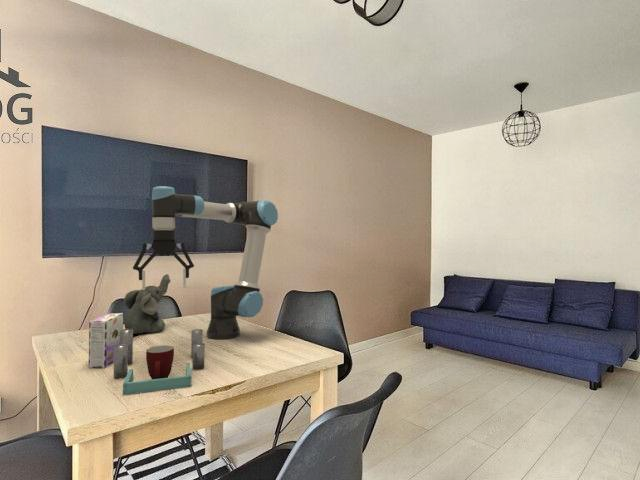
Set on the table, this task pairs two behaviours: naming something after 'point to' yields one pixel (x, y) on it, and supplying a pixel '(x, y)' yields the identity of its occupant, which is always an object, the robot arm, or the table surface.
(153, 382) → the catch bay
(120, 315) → the candy box
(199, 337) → the cylinder
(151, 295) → the stuffed elephant
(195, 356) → the cylinder
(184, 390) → the table surface
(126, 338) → the spacer back right
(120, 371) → the spacer front right
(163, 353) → the mug
